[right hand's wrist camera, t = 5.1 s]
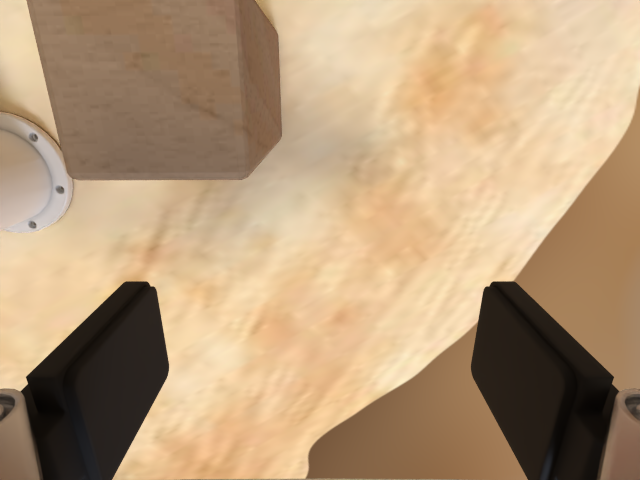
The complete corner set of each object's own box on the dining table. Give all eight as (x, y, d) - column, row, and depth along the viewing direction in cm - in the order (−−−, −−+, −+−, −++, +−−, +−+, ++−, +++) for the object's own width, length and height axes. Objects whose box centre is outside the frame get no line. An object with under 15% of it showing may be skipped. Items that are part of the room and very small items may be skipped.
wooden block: (171, 30, 36) (12, -37, 18) (278, 30, 36) (234, -38, 18) (184, 140, 40) (64, 182, 21) (282, 140, 40) (249, 181, 21)
